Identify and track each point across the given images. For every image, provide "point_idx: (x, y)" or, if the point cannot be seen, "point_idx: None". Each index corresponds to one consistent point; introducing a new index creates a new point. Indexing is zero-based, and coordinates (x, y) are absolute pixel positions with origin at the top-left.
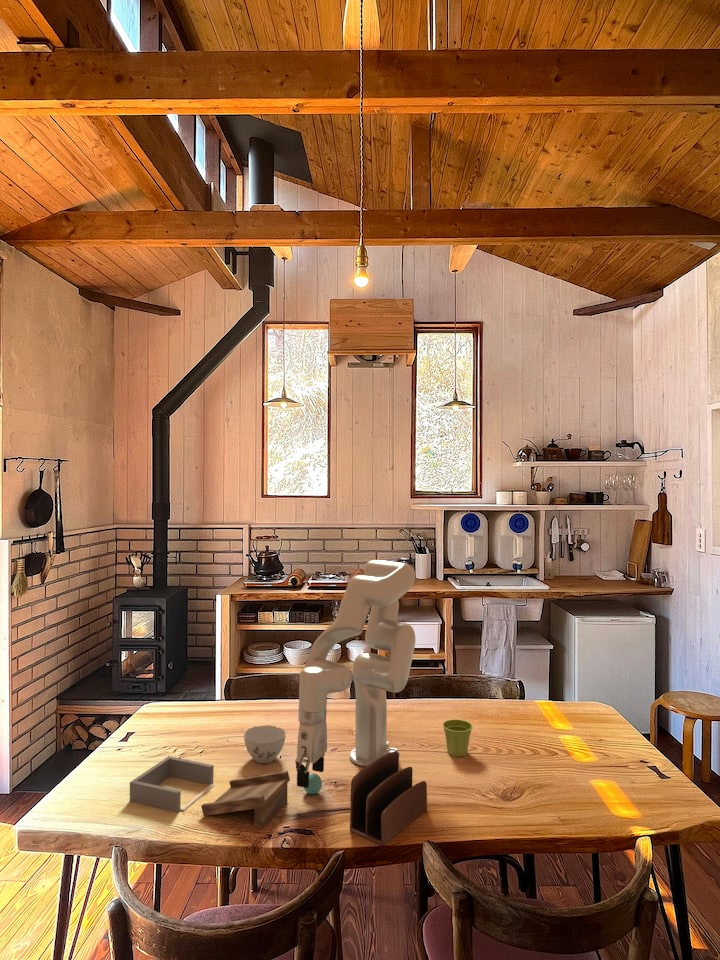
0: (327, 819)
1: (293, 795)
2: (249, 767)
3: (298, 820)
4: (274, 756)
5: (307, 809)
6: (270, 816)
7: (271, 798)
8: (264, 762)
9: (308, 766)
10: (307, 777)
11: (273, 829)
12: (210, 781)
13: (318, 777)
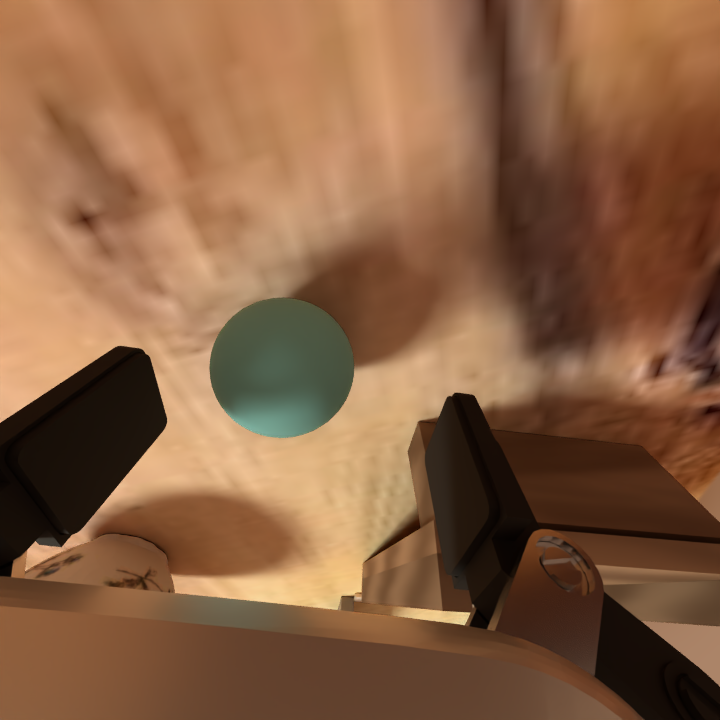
0: (644, 126)
1: (352, 413)
2: (212, 565)
3: (606, 329)
4: (117, 559)
5: (488, 314)
6: (591, 453)
7: (691, 547)
8: (157, 551)
9: (528, 611)
10: (501, 469)
11: (661, 411)
12: (353, 610)
13: (266, 357)
